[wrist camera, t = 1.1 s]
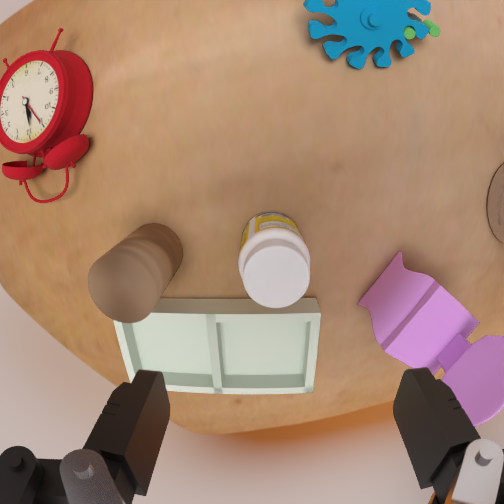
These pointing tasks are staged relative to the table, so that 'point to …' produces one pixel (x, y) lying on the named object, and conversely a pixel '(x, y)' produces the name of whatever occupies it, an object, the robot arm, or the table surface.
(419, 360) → the toy chair
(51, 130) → the alarm clock
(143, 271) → the walnut dowel
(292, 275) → the supplement bottle
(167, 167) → the table surface
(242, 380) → the slot rack
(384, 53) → the gear
